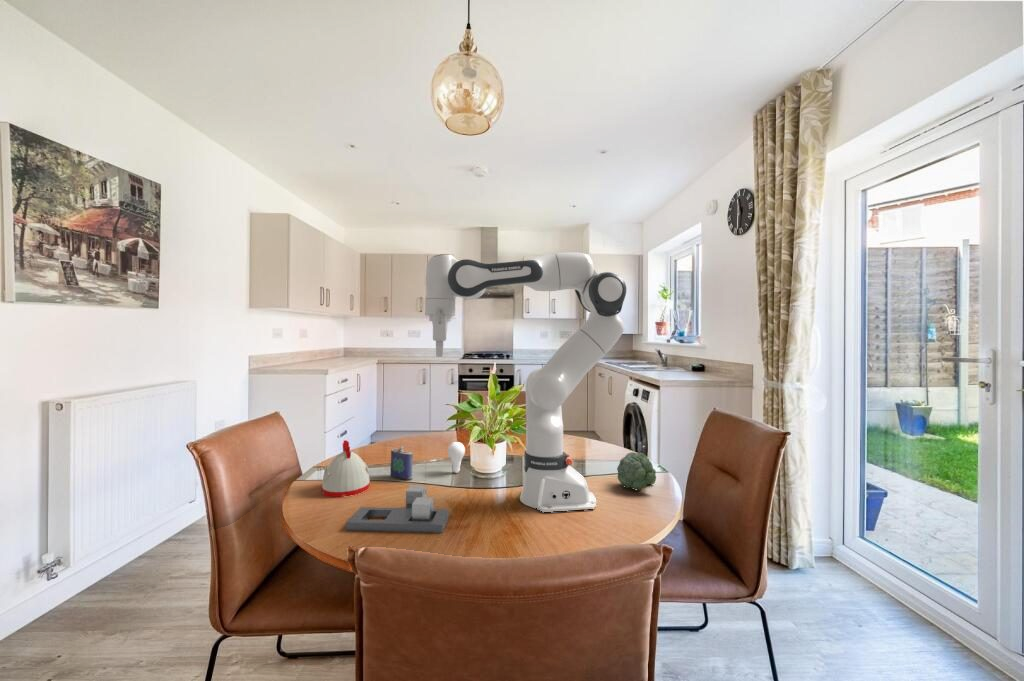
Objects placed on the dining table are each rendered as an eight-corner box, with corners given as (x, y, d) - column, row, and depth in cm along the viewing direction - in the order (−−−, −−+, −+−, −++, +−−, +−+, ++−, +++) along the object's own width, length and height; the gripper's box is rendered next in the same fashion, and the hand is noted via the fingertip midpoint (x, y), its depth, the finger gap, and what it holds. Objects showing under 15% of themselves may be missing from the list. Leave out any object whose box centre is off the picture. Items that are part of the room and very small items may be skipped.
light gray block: (433, 520, 105) (433, 497, 105) (429, 528, 101) (429, 504, 101) (416, 520, 106) (416, 497, 106) (411, 528, 101) (411, 504, 101)
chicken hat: (363, 478, 136) (364, 434, 136) (374, 491, 125) (375, 443, 125) (318, 486, 129) (319, 439, 128) (325, 501, 117) (326, 449, 117)
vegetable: (675, 484, 128) (648, 471, 120) (644, 506, 132) (616, 494, 125) (657, 454, 137) (631, 439, 130) (628, 474, 142) (602, 462, 134)
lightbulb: (457, 477, 138) (457, 445, 138) (443, 473, 142) (444, 442, 142) (468, 472, 144) (468, 441, 144) (455, 469, 147) (455, 439, 147)
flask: (413, 478, 136) (414, 447, 136) (407, 481, 134) (408, 449, 134) (394, 474, 141) (394, 443, 141) (387, 476, 138) (388, 445, 138)
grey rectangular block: (426, 506, 114) (426, 485, 114) (422, 513, 110) (422, 491, 110) (410, 506, 114) (410, 485, 114) (405, 513, 110) (406, 491, 110)
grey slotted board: (449, 516, 108) (449, 509, 108) (442, 532, 99) (442, 524, 99) (360, 514, 108) (360, 507, 108) (346, 530, 99) (346, 522, 99)
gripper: (451, 307, 110) (450, 358, 110) (450, 312, 130) (449, 354, 130) (428, 306, 109) (427, 357, 109) (430, 311, 129) (429, 354, 129)
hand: (439, 356), depth 119 cm, fingers open, 8 cm apart
